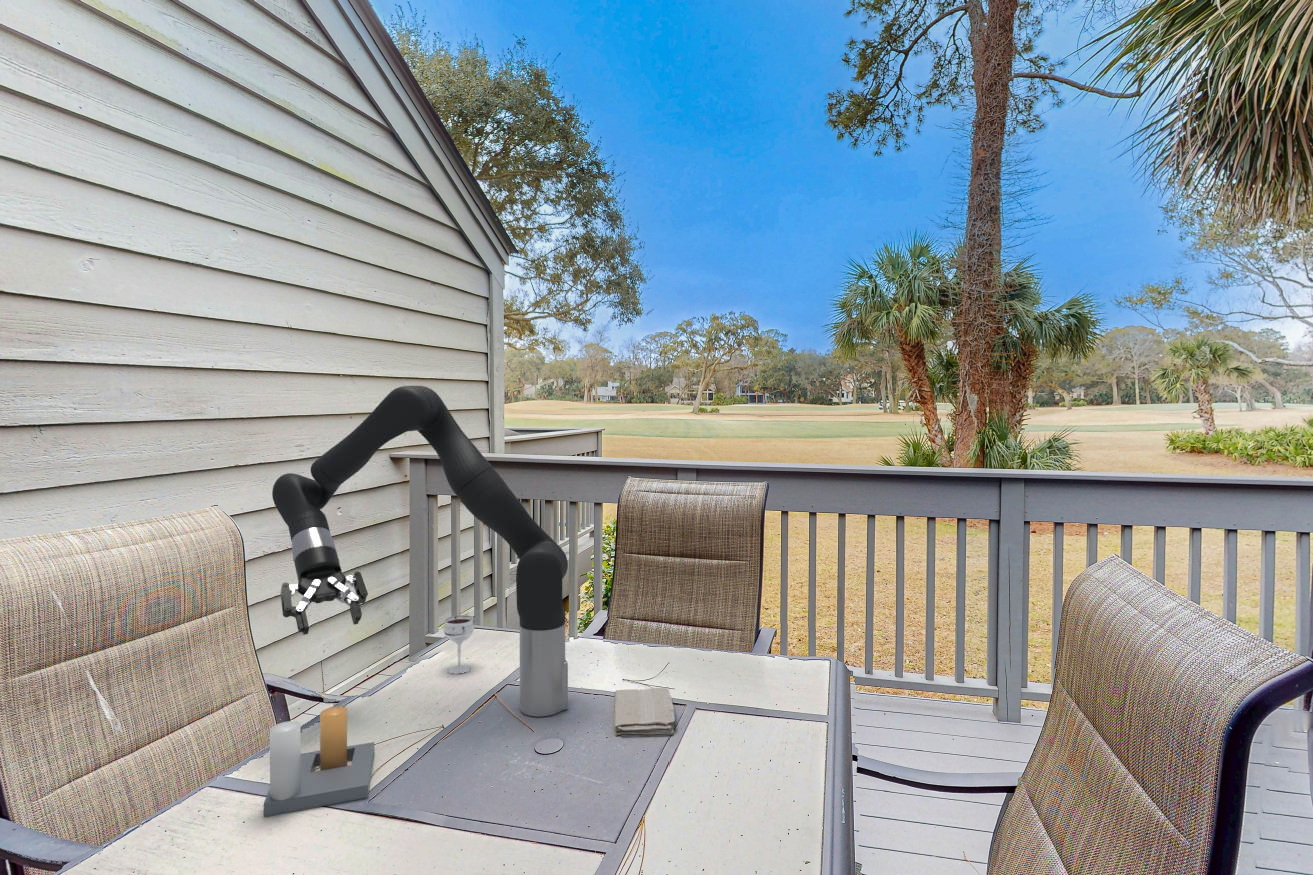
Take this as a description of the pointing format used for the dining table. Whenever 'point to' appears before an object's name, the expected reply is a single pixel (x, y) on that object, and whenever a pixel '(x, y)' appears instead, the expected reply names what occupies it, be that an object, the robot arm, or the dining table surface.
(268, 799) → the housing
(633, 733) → the washcloth
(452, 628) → the wineglass
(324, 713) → the orange cylinder
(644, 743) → the dining table surface
